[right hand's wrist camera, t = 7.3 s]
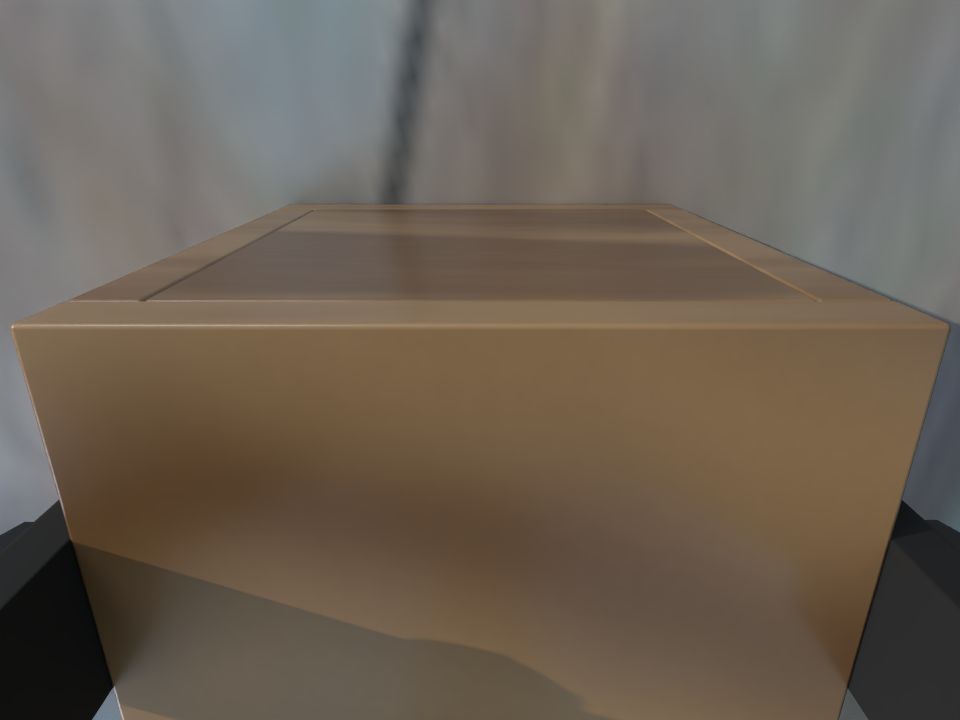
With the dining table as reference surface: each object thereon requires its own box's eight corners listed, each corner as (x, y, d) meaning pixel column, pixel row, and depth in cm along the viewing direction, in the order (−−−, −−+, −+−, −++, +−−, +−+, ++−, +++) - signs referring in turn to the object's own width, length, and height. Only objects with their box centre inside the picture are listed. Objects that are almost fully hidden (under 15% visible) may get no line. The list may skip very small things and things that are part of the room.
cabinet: (615, 729, 25) (712, 1165, 15) (345, 728, 25) (248, 1165, 15) (672, 204, 18) (956, 324, 7) (288, 204, 18) (6, 324, 7)
